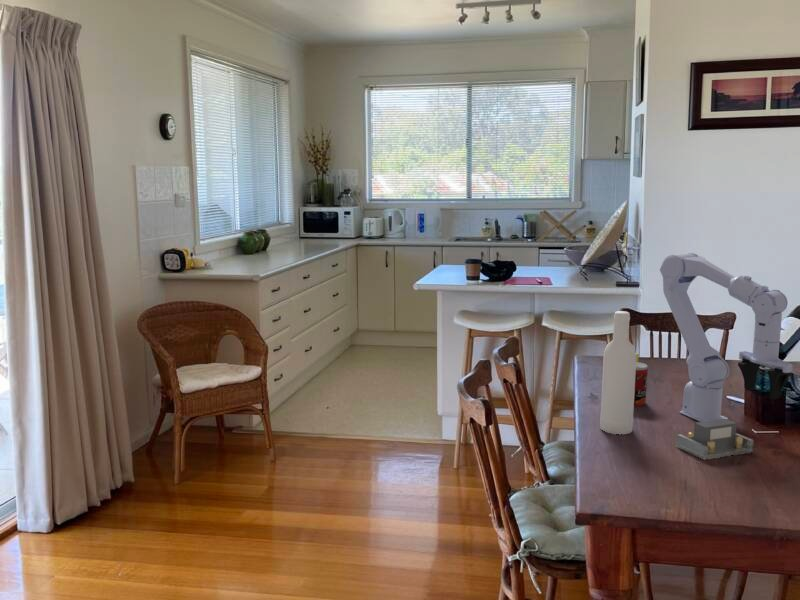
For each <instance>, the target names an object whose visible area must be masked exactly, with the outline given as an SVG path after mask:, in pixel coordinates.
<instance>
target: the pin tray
mask: <svg viewBox="0 0 800 600" xmlns="http://www.w3.org/2000/svg"><path fill="white" fill-rule="evenodd" d="M675 447H676V448H678V449H680V450H681V451H684V452H686V453H688V454H691V456H694V457H697V458H698V457H699V459H700V458H701V459H700V460H702V459H703V460H702V461H706V460H705V459H708V460H714V459H713V458H715V459H720V457H721V458H725V457H726V456H727V457H732V456H731V455H734V456H739V455H738V454H740V455H744V454H745V453H746V454H752V453H753V449H754V439H752V438H749V437H747V436H745V435H742V434H740V433H737V432H736V437H735V446H730V447H724V448H717V449H715V442H714V441H708V442H707V446H705V445H703V444H701V443H699V442H697V441H694V431H688V432H687V436H685V435H683V434H681V433H679V434H677V435H676V445H675ZM751 452H752V453H751Z"/></svg>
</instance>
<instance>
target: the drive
mask: <svg viewBox="0 0 800 600" xmlns="http://www.w3.org/2000/svg"><path fill="white" fill-rule="evenodd" d="M737 426H738V423H737V422H735V421H733V420H730V419H729V418H728V419H719V420H711V421H704V422H700V421H698V422H694V427H693V432H694V441H697V442H699V443H701V444H703V445H705V446H707V442H708V441H714V442H715V449H717V448H724V447H730V446H735V437H736V433H737Z"/></svg>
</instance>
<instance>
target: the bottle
mask: <svg viewBox="0 0 800 600" xmlns="http://www.w3.org/2000/svg"><path fill="white" fill-rule="evenodd" d="M630 320H631V315H630V312H628V311H626V310H624V311H623V310H617V311H615V312H614V314H613V330H612V331H613V338H612V340H611V341H609V343H607V344H606V346H605V349H604V351H603V359H602V360H603V361H602V364H603V365H602V378H601V379H602V382H601V403H600V415H599V417H600V418H599V422H600V423H599V429H600V430H601V431H602V430H603V431H602V432H604V431H605V432H604V433H606V432H607V434H610V433H611V434H610V435H616V434H619V435H621V434H622V435H621V436H623V435H624V436H625V435H629V434H631V433H632V432H633V426H634V407H635V406H634V391H635V373H636V353H637V351H636V349H635V345H633V344H632V343H631V342H630V340H629V334H630V332H629V331H630ZM619 435H618V436H619Z"/></svg>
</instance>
